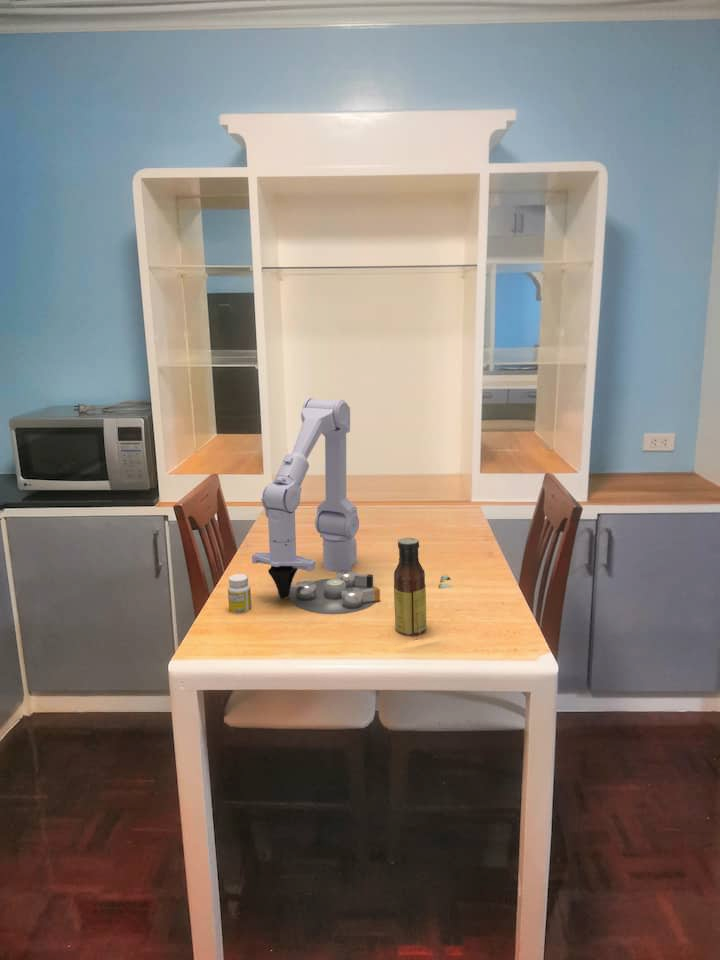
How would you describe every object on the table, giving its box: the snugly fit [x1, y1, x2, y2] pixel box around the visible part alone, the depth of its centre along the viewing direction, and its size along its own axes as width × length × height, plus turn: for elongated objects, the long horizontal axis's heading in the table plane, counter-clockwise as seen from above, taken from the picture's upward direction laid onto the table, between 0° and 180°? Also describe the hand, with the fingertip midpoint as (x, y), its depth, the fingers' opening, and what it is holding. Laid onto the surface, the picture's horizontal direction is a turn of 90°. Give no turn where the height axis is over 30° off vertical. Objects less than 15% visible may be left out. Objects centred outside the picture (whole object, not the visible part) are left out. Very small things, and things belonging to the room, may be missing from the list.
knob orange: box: [342, 586, 381, 608], centre depth 143 cm, size 8×5×3 cm, turn 113°
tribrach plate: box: [289, 578, 378, 615], centre depth 148 cm, size 20×20×5 cm
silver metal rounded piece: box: [277, 580, 316, 600], centre depth 147 cm, size 8×5×3 cm, turn 92°
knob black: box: [336, 569, 374, 588], centre depth 153 cm, size 8×5×3 cm, turn 78°
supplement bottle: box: [227, 573, 252, 614], centre depth 141 cm, size 5×5×8 cm
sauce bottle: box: [393, 537, 427, 641], centre depth 129 cm, size 7×6×20 cm
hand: (284, 597), depth 145 cm, fingers closed
